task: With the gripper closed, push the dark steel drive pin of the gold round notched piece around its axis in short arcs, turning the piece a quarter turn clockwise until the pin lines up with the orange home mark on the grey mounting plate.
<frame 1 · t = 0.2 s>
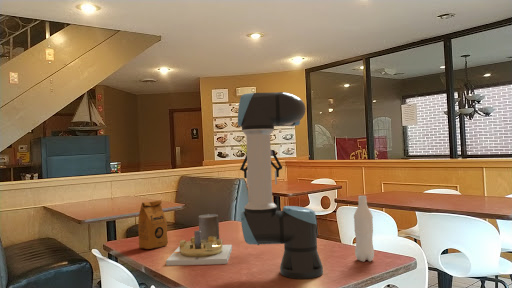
hand: (261, 184, 192), 28 cm above the table, fingers open, 13 cm apart
water bottle: (364, 260, 156), on the table
coffee package: (153, 247, 190), on the table
pillar candle: (209, 244, 193), on the table
gold round notched piece: (200, 239, 169), point 7 cm above the table, hinge at 0.0°
mount plate: (201, 256, 169), on the table
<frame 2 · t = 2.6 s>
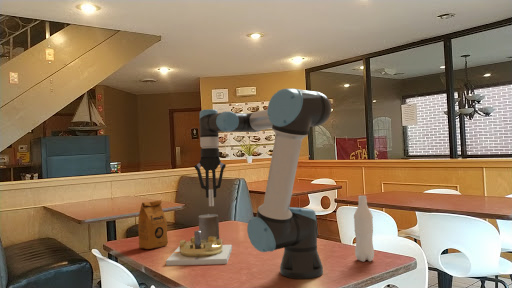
hand: (211, 205, 162), 22 cm above the table, fingers closed
nothing on the table moved.
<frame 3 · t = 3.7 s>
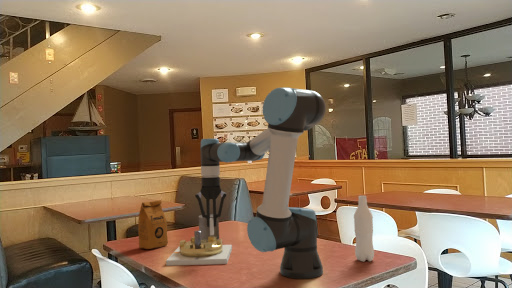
hand: (212, 234, 162), 11 cm above the table, fingers closed
nothing on the table moved.
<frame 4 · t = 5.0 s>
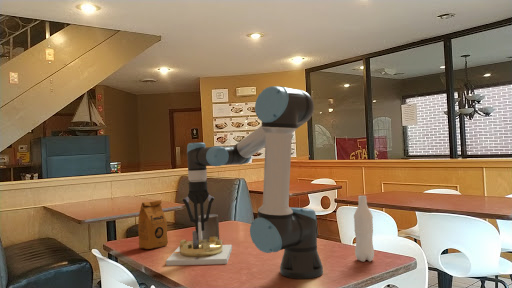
hand: (200, 238, 162), 9 cm above the table, fingers closed
gold round notched piece: (200, 239, 169), point 7 cm above the table, hinge at 6.0°, touching gripper
everything else where it was.
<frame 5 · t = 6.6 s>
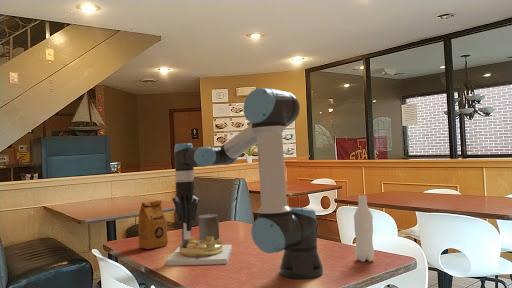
hand: (187, 238, 163), 9 cm above the table, fingers closed
gold round notched piece: (200, 239, 169), point 7 cm above the table, hinge at 50.9°, touching gripper
everything else where it was.
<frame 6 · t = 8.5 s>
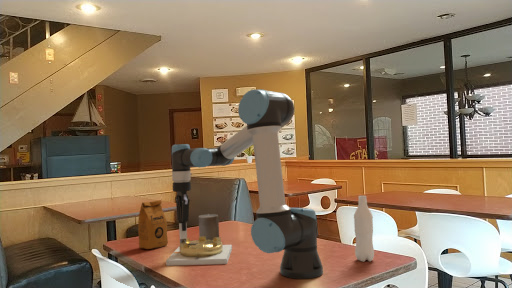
hand: (183, 238, 165), 9 cm above the table, fingers closed
gold round notched piece: (200, 239, 169), point 7 cm above the table, hinge at 84.8°
everything else where it was.
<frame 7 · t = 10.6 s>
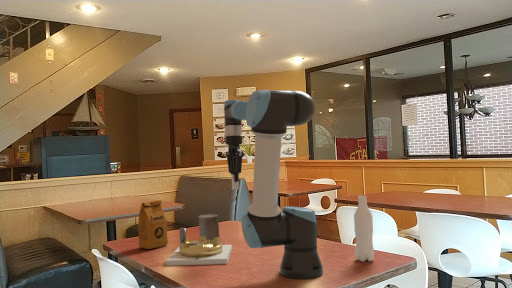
hand: (235, 189, 175), 28 cm above the table, fingers closed
nothing on the table moved.
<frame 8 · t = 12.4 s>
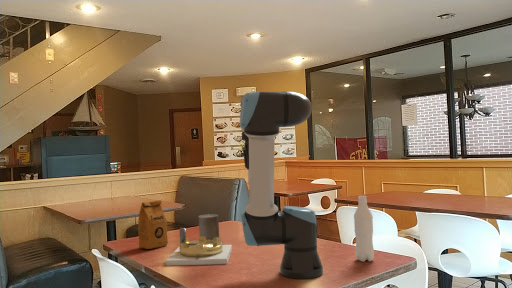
hand: (251, 184, 178), 29 cm above the table, fingers closed
nothing on the table moved.
at the end: gold round notched piece at +85° (first picture: +0°) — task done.
